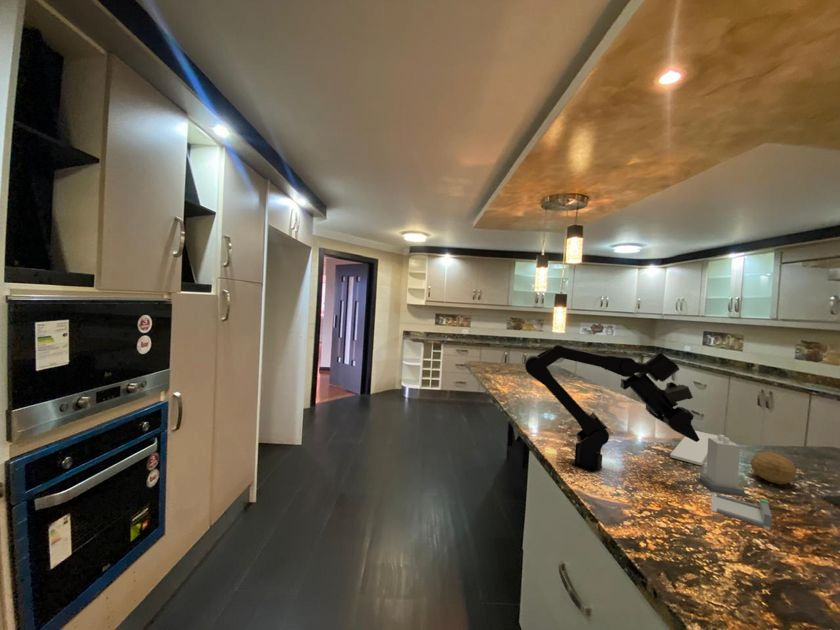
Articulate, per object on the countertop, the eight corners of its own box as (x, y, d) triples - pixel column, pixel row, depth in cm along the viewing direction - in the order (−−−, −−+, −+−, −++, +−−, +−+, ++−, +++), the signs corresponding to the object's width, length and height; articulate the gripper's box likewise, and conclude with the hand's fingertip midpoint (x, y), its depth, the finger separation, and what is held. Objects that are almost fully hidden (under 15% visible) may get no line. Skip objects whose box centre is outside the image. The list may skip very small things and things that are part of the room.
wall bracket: (700, 485, 112) (717, 455, 131) (707, 465, 110) (724, 438, 129) (664, 467, 119) (685, 440, 138) (670, 448, 117) (691, 424, 136)
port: (711, 512, 84) (712, 497, 84) (711, 496, 92) (712, 483, 92) (771, 530, 77) (772, 515, 77) (765, 511, 86) (766, 497, 86)
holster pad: (710, 492, 94) (710, 491, 94) (694, 478, 103) (694, 477, 103) (751, 499, 92) (751, 498, 92) (731, 484, 101) (731, 483, 101)
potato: (790, 479, 107) (791, 452, 107) (801, 495, 96) (802, 466, 96) (746, 468, 113) (748, 444, 113) (752, 483, 102) (753, 455, 102)
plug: (712, 490, 95) (715, 438, 95) (699, 479, 102) (702, 430, 102) (744, 495, 93) (747, 442, 93) (729, 484, 100) (731, 434, 100)
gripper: (687, 379, 92) (735, 428, 89) (659, 370, 110) (698, 410, 107) (650, 405, 94) (696, 453, 91) (629, 392, 112) (667, 432, 109)
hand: (690, 435), depth 100 cm, fingers open, 9 cm apart
